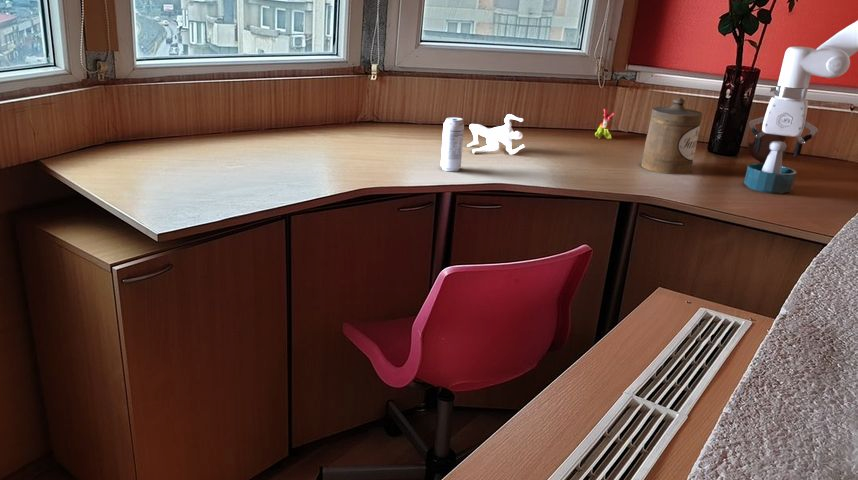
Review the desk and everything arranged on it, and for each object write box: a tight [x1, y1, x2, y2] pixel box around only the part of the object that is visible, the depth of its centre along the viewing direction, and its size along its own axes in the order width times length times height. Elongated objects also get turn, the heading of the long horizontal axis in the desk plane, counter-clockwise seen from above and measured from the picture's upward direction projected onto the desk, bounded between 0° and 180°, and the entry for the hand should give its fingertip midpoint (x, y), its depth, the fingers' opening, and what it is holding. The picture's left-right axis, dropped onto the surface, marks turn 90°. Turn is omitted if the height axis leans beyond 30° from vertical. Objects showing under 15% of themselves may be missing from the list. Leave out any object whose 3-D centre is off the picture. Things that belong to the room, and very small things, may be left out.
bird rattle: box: [594, 108, 616, 140], centre depth 264 cm, size 6×11×9 cm
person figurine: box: [466, 113, 526, 156], centre depth 237 cm, size 13×13×18 cm
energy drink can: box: [440, 116, 465, 172], centre depth 211 cm, size 6×6×15 cm
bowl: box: [743, 162, 797, 195], centre depth 207 cm, size 13×13×6 cm
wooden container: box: [640, 97, 703, 175], centre depth 222 cm, size 15×15×22 cm
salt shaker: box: [761, 141, 787, 174], centre depth 205 cm, size 6×6×13 cm
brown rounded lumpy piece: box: [747, 133, 789, 164], centre depth 220 cm, size 11×11×15 cm
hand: (775, 154), depth 204 cm, fingers open, 9 cm apart
